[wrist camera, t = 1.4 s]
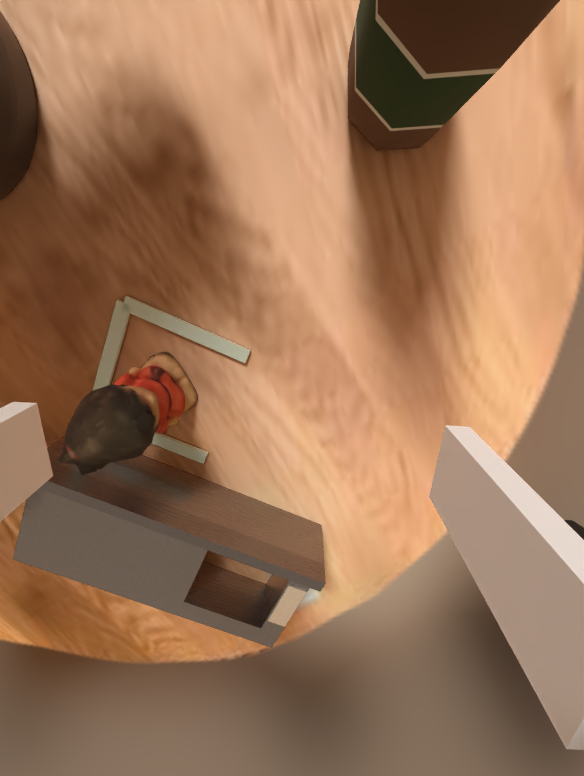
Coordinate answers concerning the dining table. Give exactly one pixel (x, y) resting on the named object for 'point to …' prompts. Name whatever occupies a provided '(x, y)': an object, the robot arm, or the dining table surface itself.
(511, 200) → the dining table surface
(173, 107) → the dining table surface
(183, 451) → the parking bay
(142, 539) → the grey box with compartment
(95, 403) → the figurine
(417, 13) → the beer bottle
